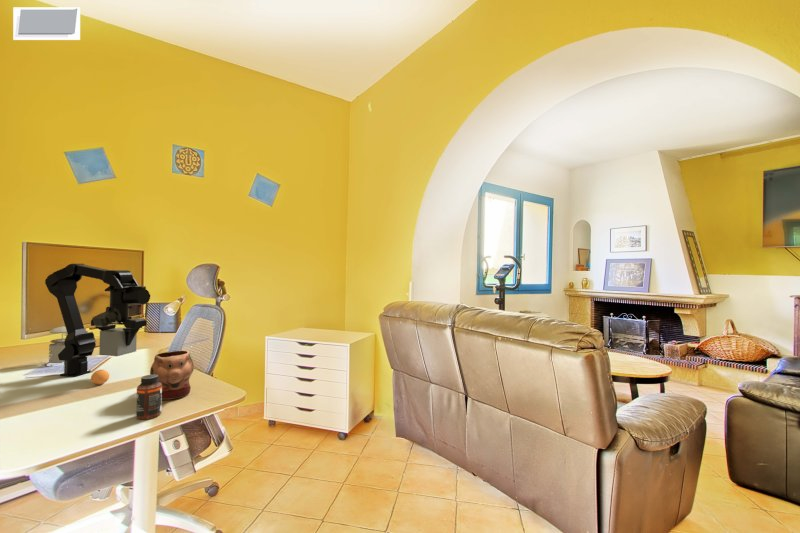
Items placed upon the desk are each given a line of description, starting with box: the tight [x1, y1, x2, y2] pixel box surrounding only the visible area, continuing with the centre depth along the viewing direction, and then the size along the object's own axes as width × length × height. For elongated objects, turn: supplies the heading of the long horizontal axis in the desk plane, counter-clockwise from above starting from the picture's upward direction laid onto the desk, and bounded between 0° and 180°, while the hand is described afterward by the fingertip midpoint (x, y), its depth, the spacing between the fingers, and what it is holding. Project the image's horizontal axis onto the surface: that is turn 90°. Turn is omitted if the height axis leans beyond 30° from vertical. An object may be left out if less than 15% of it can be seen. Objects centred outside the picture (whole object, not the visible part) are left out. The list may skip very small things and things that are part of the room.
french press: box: [46, 317, 67, 364], centre depth 150 cm, size 10×12×25 cm
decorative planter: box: [149, 350, 195, 400], centre depth 119 cm, size 20×12×14 cm, turn 44°
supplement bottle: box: [135, 374, 163, 420], centre depth 102 cm, size 6×6×11 cm
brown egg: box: [90, 369, 110, 385], centre depth 126 cm, size 5×5×5 cm
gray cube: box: [98, 327, 138, 357], centre depth 134 cm, size 8×8×9 cm
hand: (118, 345), depth 134 cm, fingers closed on gray cube, 8 cm apart
